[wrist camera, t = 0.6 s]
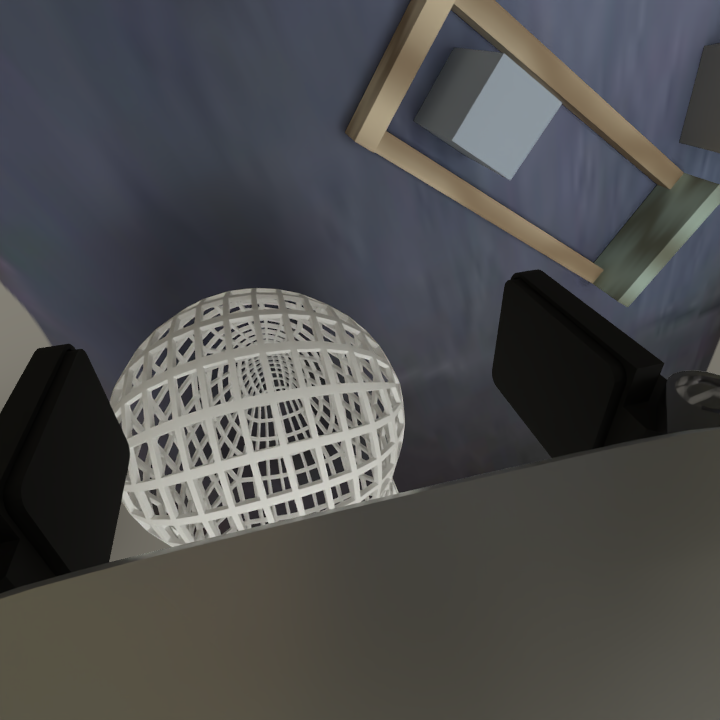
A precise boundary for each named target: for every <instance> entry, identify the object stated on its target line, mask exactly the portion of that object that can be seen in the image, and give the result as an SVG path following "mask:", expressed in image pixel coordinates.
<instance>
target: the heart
mask: <svg viewBox="0 0 720 720" xmlns="http://www.w3.org/2000/svg"><path fill="white" fill-rule="evenodd" d="M274 299H277V300H274ZM284 300H288V301H293V302H296V305H295V304H292V303H288V302H285V301H284ZM231 302H232V303H231ZM222 304H223V306H219V305H222ZM251 304H252V308H246V309H245V307H244V305H251ZM257 304H259V306H260V307H258V305H257ZM264 304H270V305H278V307H279V309H275V308H268V307H265V305H264ZM301 304H302V305H303V306H304V308H303V307H302V305H301ZM238 306H239V308H240V310H238V311H235V312H233V313H230V309H232V308H235V307H238ZM212 307H214V308H215V309H214V310H212V311H211V312H209V313H207V314H206V315H204V316H203V313H204V311H205V310H207V309H209V308H212ZM287 308H289V309H287ZM324 309H325V310H324ZM313 310H315V311H316V312H314V311H313ZM219 313H220V315H221V316H218V317H214V316H215V315H217V314H219ZM194 317H195V321H194V324H192V325H190V326H187V327H185V328H184V327H183V326H184V325H185V324H187V323H188V322H189V321H190V320H191V319H193V318H194ZM212 317H214V318H212ZM210 318H211V319H210ZM289 318H290V319H294V320H297V321H298V322H297V325H296V324H294V323H292V322H290V320H289ZM180 320H181V321H180ZM263 320H264V323H260V321H263ZM308 320H309V321H308ZM252 321H254V324H253V323H252ZM268 321H272V322H278V323H280V324H279V325H276V324H271V323H268ZM247 322H248V324H249V325H247V326H244V327H242V328H239V329H238V328H237V327H236V326H239V325H241V324H244V323H247ZM303 324H305V325H306V326H308V327H310V328H311V329H312V331H313V334H314V336H313V335H312V334H310V333H309V332H308V331H306V330H305V329H303ZM322 324H323V325H325V326H326V327H328V328H330V329H331V330H333V331H334V332H335V334H336V337H334V336H333V335H331V334H330V333H328V332H327V331H325V330H324V329H322ZM282 325H284V327H283V326H282ZM219 326H224V328H223V329H222V330H220V331H219V332H217V331H216V330H215V328H216V327H219ZM263 327H265V329H261V328H263ZM168 328H170V331H169V333H168V334H167V336H166V337H164V338H162V339H161V340H159V339H160V338H161V336H162V335H163V334H164V333H165V332H166V331H167V330H168ZM232 328H233V329H234V330H235V331H234V332H233V333H231V329H232ZM268 328H273V329H277V331H275V330H270V329H268ZM292 328H293V329H296V330H295V331H292ZM250 329H252V331H250V332H248V333H245V334H244V333H243V332H244V331H247V330H250ZM280 330H281V331H284V332H285V334H284V333H282V332H280ZM345 330H347V331H349V332H350V333H351V334H353V335H354V339H353V338H352V337H351V336H349V335H348V334H346V332H345ZM202 331H203V332H202ZM210 332H212V333H213V334H214V337H213V338H212V339H211V340H210V341H209V342H208V344H207V345H206V346H204V345H203V339H204V338H205V337H206V336H207V335H208V334H209V333H210ZM300 332H301V333H302V334H303V335H305V336H306V337H307V338H309V339H310V340H311V341H306V340H305V339H304V338H302V337H301V336H300V335H299V334H298V333H300ZM262 333H265V335H262ZM238 334H240V335H241V336H240V337H238V338H237V339H236V340H232V338H234V337H235V336H237V335H238ZM268 334H274V335H275V336H273V335H268ZM193 335H194V336H193ZM224 335H225V336H224ZM252 335H255V336H254V337H251V338H249V336H252ZM277 336H280V337H283V338H285V339H282V338H280V337H277ZM323 336H325V337H326V338H328V339H329V340H331V341H332V342H325V341H324V339H323ZM188 337H189V338H190V339H191V340H192V341H193V343H192V344H191V345H190V347H189V348H188V350H187V351H186V353H185V354H184V355H183V356H182V355H181V354H180V353H179V352H178V350H179V349H180V348H181V346H182V345H183V344H184V342H185V341H186V340H187V339H188ZM294 337H295V338H296V339H298V340H299V341H296V340H295V339H294ZM219 338H220V339H222V340H223V341H222V342H221V343H220V345H219V346H218V347H217V348H216V349H213V348H211V347H212V346H213V345H214V344H215V343H216V341H217V340H218V339H219ZM265 338H266V340H263V339H265ZM243 339H246V341H244V342H243V343H239V342H241V341H242V340H243ZM268 339H273V340H268ZM255 340H257V341H256V342H254V343H253V342H252V341H255ZM276 340H277V341H279V342H277V341H276ZM176 342H177V343H176ZM333 342H334V343H333ZM249 343H251V344H250V345H249V346H247V347H246V345H247V344H249ZM351 344H353V345H354V346H352V345H351ZM361 344H362V345H361ZM225 345H226V350H223V348H224V346H225ZM236 345H238V346H239V347H238V348H236V349H233V348H234V347H235V346H236ZM165 347H166V348H167V356H166V358H165V360H164V361H163V363H162V364H161V366H160V367H159V366H157V365H156V364H155V362H156V361H157V359H158V358H159V356H160V355H161V353H162V352H163V350H164V349H165ZM194 350H195V360H192V361H190V362H187V361H188V359H189V358H190V356H191V355H192V353H193V352H194ZM299 352H302V354H303V355H300V353H299ZM307 352H311V354H312V355H313V356H314V357H313V356H309V354H308V353H307ZM316 352H319V354H320V357H319V356H318V354H317V353H316ZM207 353H213V354H212V355H208V356H206V355H207ZM286 353H287V354H286ZM328 353H330V354H332V355H333V356H335V357H337V358H338V359H339V361H340V364H341V367H342V369H341V368H340V367H338V366H337V365H335V364H334V363H333V362H332V360H331V358H330V356H329V354H328ZM344 354H346V357H347V358H346V357H345V355H344ZM267 356H272V357H267ZM274 356H278V357H274ZM281 356H283V357H284V358H281ZM254 357H255V358H254ZM288 357H290V358H291V360H289V359H288ZM176 358H177V359H178V360H179V363H178V364H177V366H176ZM363 358H365V359H368V360H369V362H370V364H369V363H368V362H367V361H365V360H364V359H363ZM249 359H251V360H250V361H248V360H249ZM258 359H259V361H257V362H255V361H256V360H258ZM303 359H304V360H307V361H308V363H309V365H310V367H308V366H306V364H305V362H304V360H303ZM268 360H273V361H268ZM275 360H279V361H275ZM242 361H245V364H243V365H242ZM283 361H285V362H286V363H284V362H283ZM237 362H238V364H237V368H236V363H237ZM313 362H317V363H318V365H319V367H320V369H321V372H320V371H318V370H317V369H316V367H315V365H314V363H313ZM251 363H252V365H251V366H249V364H251ZM259 363H260V365H259V366H257V367H256V365H257V364H259ZM273 363H274V366H270V365H269V364H273ZM300 363H301V364H300ZM142 364H143V371H142V373H141V375H140V376H139V378H138V379H136V375H137V373H138V371H139V370H140V368H141V366H142ZM228 364H229V368H228V372H226V373H225V374H223V369H224V366H225V365H228ZM277 364H280V366H277ZM290 364H293V367H292V366H291V365H290ZM347 365H348V366H349V367H350V369H351V372H352V375H353V377H352V376H351V375H350V374H349V373H348V369H347ZM284 366H285V367H287V368H288V369H286V368H285V367H284ZM363 366H364V367H365V368H366V369H367V370H368V371H369V372H370V373H371V374H372V375H373V382H372V381H371V380H370V379H369V377H368V376H367V375H366V374H365V373H364V372H363ZM244 367H245V370H244V371H243V372H241V369H242V368H244ZM260 367H261V370H260V371H258V370H257V369H259V368H260ZM166 368H167V371H165V369H166ZM216 368H219V369H218V376H217V378H216V379H214V380H213V381H211V378H212V370H213V369H216ZM252 368H254V369H253V370H252V371H251V372H250V369H252ZM270 368H275V371H271V369H270ZM277 368H279V369H281V371H282V372H281V371H278V369H277ZM302 368H303V370H304V373H305V374H304V373H303V372H302ZM152 369H153V370H154V371H155V372H156V373H155V375H154V377H153V378H152ZM292 370H293V371H294V372H295V374H294V373H293V372H292ZM164 371H165V372H164ZM285 371H286V372H287V373H289V375H288V374H286V373H285ZM308 371H309V372H311V373H313V374H314V377H315V380H316V381H315V380H314V379H312V378H310V375H309V372H308ZM254 372H255V375H254V376H253V378H252V377H251V376H252V375H253V373H254ZM261 372H263V375H262V376H259V374H260V373H261ZM337 372H338V373H339V374H341V375H342V376H344V379H345V383H343V384H341V383H340V382H339V379H338V376H337ZM381 372H382V373H383V374H384V376H385V377H386V378H387V379H388V383H387V382H385V381H384V380H383V377H382V374H381ZM272 373H276V375H277V377H274V378H273V376H272ZM245 374H247V377H246V378H245V379H244V380H243V379H242V377H243V376H244V375H245ZM279 374H282V376H283V378H282V377H279ZM186 375H189V376H188V377H187V378H186V380H185V381H184V383H183V384H182V385H181V387H180V388H179V389H178V384H177V379H178V378H180V377H183V376H186ZM197 376H198V381H199V388H200V390H199V391H198V382H197ZM319 376H320V377H322V378H323V379H325V383H326V385H321V382H320V378H319ZM226 377H228V385H227V386H226V387H225V388H224V389H223V383H222V380H223V379H225V378H226ZM256 377H257V380H256V382H255V384H254V382H253V381H254V380H255V379H256ZM263 377H264V378H265V381H264V382H261V379H262V378H263ZM286 377H287V378H289V380H287V379H286ZM293 377H294V378H295V379H296V380H297V382H296V381H295V380H294V379H293ZM304 378H305V379H306V380H307V384H306V383H305V380H304ZM276 379H278V383H279V386H277V387H275V385H274V380H276ZM248 380H249V384H248V385H247V387H246V388H245V386H244V385H245V383H246V382H247V381H248ZM280 380H283V381H284V386H281V382H280ZM363 380H364V381H365V382H366V383H364V382H363ZM258 382H259V384H260V385H259V387H258V388H256V386H257V384H258ZM272 382H273V383H272ZM286 382H287V383H288V384H289V386H287V383H286ZM292 382H293V383H294V384H295V385H296V386H297V388H296V387H295V386H294V385H293V384H292ZM132 383H133V385H134V386H133V387H132ZM190 383H191V384H192V393H193V397H192V398H191V400H190V401H189V403H188V404H187V405H186V407H184V405H183V402H182V399H181V396H182V394H183V393H184V392H185V390H186V389H187V387H188V386H189V385H190ZM217 383H218V394H217V396H216V397H215V398H214V399H213V397H212V391H211V388H212V387H213V386H214V385H216V384H217ZM265 383H266V388H267V390H265V391H264V389H263V384H265ZM311 383H312V384H313V385H315V386H312V385H311ZM162 385H163V387H162V389H161V391H160V392H159V394H158V396H157V397H156V399H155V400H154V399H153V398H152V390H154V389H156V388H158V387H160V386H162ZM251 386H252V389H251V392H250V395H249V394H248V391H249V389H250V387H251ZM273 386H274V387H273ZM131 388H132V389H131ZM260 388H261V390H262V393H259V390H260ZM282 388H285V389H286V390H282ZM292 388H293V389H292ZM168 389H169V395H170V403H169V405H168V407H167V409H166V410H165V412H164V413H163V412H162V410H161V409H160V407H159V404H160V402H161V401H162V399H163V397H164V396H165V394H166V392H167V391H168ZM229 389H230V392H231V398H230V399H229V401H228V402H226V401H225V397H224V394H225V393H226V392H227V391H228V390H229ZM276 389H280V391H276ZM288 389H289V390H288ZM241 390H242V392H243V395H241ZM254 391H255V396H253V393H254ZM274 391H275V392H274ZM367 391H372V396H371V395H370V394H369V393H368V392H367ZM266 392H267V393H266ZM353 392H358V395H359V398H358V397H357V396H356V395H355V394H354V393H353ZM342 393H346V394H347V395H348V398H349V404H350V405H349V404H348V403H347V402H345V401H344V399H343V394H342ZM324 395H329V402H330V404H329V403H328V402H327V401H326V400H325V399H323V396H324ZM200 397H201V401H202V407H203V409H202V408H201V404H200V400H199V398H200ZM245 397H246V398H245ZM312 397H316V398H317V399H318V400H319V406H318V405H317V404H316V403H315V402H314V401H313V400H312ZM139 398H140V400H139V402H138V404H137V405H136V407H135V409H134V411H133V412H132V411H131V409H130V405H131V404H132V403H133V402H135V401H136V400H138V399H139ZM377 398H379V400H380V402H381V403H382V405H383V406H384V413H382V411H381V409H380V408H379V406H378V404H377ZM298 399H300V400H301V402H302V405H303V407H301V405H300V403H299V401H298ZM219 400H220V401H221V404H219V405H215V404H216V403H217V402H218V401H219ZM292 400H295V402H296V404H297V406H298V408H299V410H298V411H296V409H295V407H294V404H293V402H292ZM286 401H290V404H291V407H292V409H293V413H291V414H289V410H288V407H287V404H286ZM354 401H355V402H356V403H357V404H358V405H359V406H360V412H361V415H360V414H359V413H358V412H357V411H356V410H355V405H354ZM280 402H284V405H285V408H286V412H287V415H284V416H282V414H281V409H280V405H279V403H280ZM369 402H370V403H371V407H370V403H369ZM277 403H278V406H277ZM310 403H311V404H312V405H313V406H314V408H315V409H316V410H317V411H318V412H317V415H316V416H315V414H314V413H313V411H312V408H311V404H310ZM323 404H324V405H325V406H326V407H327V408H328V409H329V410H330V418H329V417H328V416H327V415H326V414H325V413H324V412H323ZM110 405H111V407H112V409H113V411H114V414H115V416H116V418H117V420H118V422H119V424H120V422H121V420H122V431H123V433H124V435H125V437H126V439H127V442H128V444H129V448H130V461H129V466H128V470H129V477H128V476H126V480H125V485H124V490H123V495H122V500H121V502H122V503H123V505H124V506H125V507H126V509H127V510H128V512H129V513H130V514H131V515H132V517H133V518H134V519H135V520H136V521H137V522H139V524H140V525H141V526H142V527H143V528H144V529H146V530H147V531H148V532H149V533H150V534H152V535H153V536H155V537H157V538H158V539H160V540H162V541H163V542H165V543H166V544H168V545H169V546H171V547H174V546H178V545H182V544H186V543H191V542H195V541H199V540H203V539H207V538H212V537H216V536H220V535H221V533H220V530H219V528H218V525H219V524H220V523H221V522H222V521H223V520H224V519H225V518H226V517H227V518H228V521H229V524H230V527H231V528H230V529H228V530H227V531H226V532H225V533H223V534H222V535H224V534H228V533H233V532H237V530H236V529H238V531H241V530H245V529H246V526H247V529H249V528H251V524H256V523H261V526H262V525H265V522H268V523H269V524H270V523H275V522H278V521H279V520H285V519H291V518H295V517H299V516H304V515H307V514H310V513H313V512H320V510H322V509H324V508H326V507H327V509H326V510H329V509H334V508H338V507H342V506H347V505H351V504H355V503H359V502H361V501H362V500H363V499H365V501H368V500H372V499H376V498H381V497H385V496H389V495H394V494H398V493H399V492H398V490H397V488H396V485H395V483H394V481H393V478H392V476H393V473H394V470H395V466H396V463H397V460H398V456H399V453H400V450H401V446H402V442H403V434H404V426H405V417H404V406H403V398H402V392H401V387H400V383H399V380H398V378H397V376H396V374H395V372H394V370H393V368H392V366H391V364H390V362H389V360H388V359H387V357H386V355H385V354H384V352H383V350H382V349H381V347H380V346H379V345H378V343H377V342H376V341H375V340H374V339H373V338H372V337H371V336H370V335H369V333H368V332H367V331H366V330H365V329H363V328H362V327H361V326H360V325H359V324H357V323H356V322H355V321H354V320H353V319H352V318H350V317H349V316H347V315H346V314H344V313H342V312H340V311H338V310H337V309H335V308H333V307H331V306H329V305H327V304H325V303H323V302H320V301H318V300H315V299H313V298H310V297H308V296H305V295H303V294H299V293H295V292H290V291H285V290H280V289H266V288H250V289H242V290H233V291H228V292H224V293H221V294H218V295H215V296H211V297H208V298H205V299H203V300H201V301H199V302H197V303H195V304H193V305H191V306H189V307H187V308H185V309H183V310H182V311H180V312H179V313H178V314H177V315H175V316H174V317H172V318H171V319H170V320H168V321H167V322H165V323H164V324H162V325H161V326H160V327H158V328H157V329H156V330H155V331H154V332H153V333H152V334H151V335H150V336H149V337H148V338H147V339H146V340H145V341H144V342H143V343H142V344H141V345H140V347H139V348H138V349H137V350H136V352H135V353H134V355H133V356H132V358H131V360H130V361H129V363H128V365H127V366H126V368H125V369H124V371H123V373H122V375H121V376H120V378H119V380H118V381H117V383H116V385H115V387H114V390H113V392H112V396H111V399H110ZM194 405H195V407H196V412H192V413H189V412H190V410H191V409H192V407H193V406H194ZM214 405H215V406H214ZM268 405H270V406H271V410H272V417H273V418H270V419H268V417H267V406H268ZM262 406H264V410H265V419H261V407H262ZM255 407H258V419H256V418H254V414H255ZM392 407H393V408H392ZM142 408H143V411H144V422H143V424H142V425H141V424H140V423H139V421H138V420H137V417H138V415H139V413H140V411H141V409H142ZM250 408H252V412H251V416H250V415H249V414H247V413H248V409H250ZM278 408H279V410H278ZM345 408H346V409H347V410H348V411H350V412H351V416H352V422H351V421H350V420H349V419H348V418H346V411H345ZM171 412H172V420H170V421H168V417H169V415H170V414H171ZM233 412H234V413H233ZM279 412H280V414H279ZM188 413H189V414H188ZM230 413H233V415H232V416H231V414H230ZM300 413H301V414H302V416H303V417H304V419H305V421H306V423H307V425H308V426H306V427H304V428H303V426H302V423H301V421H300V419H299V417H298V414H300ZM376 413H377V415H378V416H379V418H378V419H376ZM154 414H156V416H157V417H158V419H159V420H160V421H159V424H158V425H157V426H155V423H154ZM237 414H238V416H239V421H240V425H239V426H238V425H237V424H236V423H235V419H236V417H237ZM224 415H226V417H227V419H228V421H229V423H228V425H227V427H226V428H225V430H223V428H222V426H221V424H220V421H221V419H222V418H223V416H224ZM335 415H336V417H337V421H338V425H339V426H337V425H336V424H335ZM292 416H295V417H296V419H297V421H298V424H299V426H300V429H299V430H297V431H295V428H294V426H293V423H292V420H291V417H292ZM321 416H322V417H323V418H324V419H325V420H326V421H327V422H328V423H329V427H328V430H326V429H325V427H324V426H323V425H322V424H321V422H320V421H319V420H320V417H321ZM395 417H396V418H395ZM286 418H289V421H290V424H291V427H292V431H293V432H291V433H288V434H286V430H285V426H284V422H283V419H286ZM247 419H248V420H250V423H249V427H248V422H247ZM357 419H358V420H359V421H360V422H361V423H362V425H360V426H358V424H357ZM281 421H282V422H281ZM253 422H257V423H258V424H257V437H254V436H251V432H252V426H253ZM268 422H273V424H274V432H275V436H273V437H269V434H268ZM200 423H201V426H202V428H203V431H204V434H205V436H204V437H203V439H202V441H201V442H200V443H199V441H198V439H197V437H196V435H195V431H196V430H197V428H198V427H199V425H200ZM261 423H265V428H266V437H261V438H260V427H261ZM192 424H193V425H192ZM316 424H317V425H318V426H319V428H320V429H321V430H322V432H323V433H324V434H325V435H320V436H318V432H317V428H316ZM348 426H350V427H351V428H349V429H348ZM184 427H186V429H187V431H188V434H187V436H185V431H184ZM216 427H217V429H218V431H219V433H220V435H221V438H220V440H218V436H217V432H216ZM231 427H233V428H234V429H235V430H236V432H237V433H236V436H235V439H234V441H233V444H232V443H231V441H230V440H229V439H228V437H227V435H228V433H229V431H230V429H231ZM132 428H134V429H135V431H136V432H137V433H138V434H137V435H135V436H133V437H132ZM333 428H334V429H335V430H336V431H337V432H333V433H332V430H333ZM308 429H309V433H310V437H311V438H308V436H307V434H306V432H305V431H306V430H308ZM283 430H284V431H283ZM377 432H378V433H379V435H380V439H379V437H378V435H377ZM167 433H169V438H168V440H167V443H166V445H165V448H164V450H163V449H162V447H161V446H160V445H159V444H158V442H157V441H158V439H159V437H160V436H162V435H164V434H167ZM299 433H303V435H304V438H305V439H303V440H298V437H297V434H299ZM385 433H386V437H387V440H388V444H387V442H386V438H385ZM240 435H241V436H243V438H244V442H245V446H244V450H243V453H242V452H241V451H239V450H238V449H237V448H236V447H237V444H238V441H239V438H240ZM277 435H278V436H277ZM360 435H361V436H362V437H363V438H364V439H365V441H366V446H367V448H366V447H365V446H364V445H362V444H361V443H360V438H359V436H360ZM290 436H294V437H295V440H296V441H294V442H289V443H288V438H287V437H290ZM354 437H355V439H354ZM278 439H279V444H280V445H278ZM191 440H192V442H193V444H194V446H195V448H196V451H195V453H194V455H193V457H192V459H191V457H190V453H189V449H188V445H189V443H190V441H191ZM271 440H276V446H273V447H269V441H271ZM173 441H174V443H175V444H176V446H177V448H178V449H179V453H178V455H177V458H176V461H175V463H174V461H173V460H172V459H171V458H170V456H169V455H168V454H169V452H170V449H171V447H172V444H173ZM252 441H256V447H255V451H254V448H253V444H252ZM260 441H266V448H264V449H260V450H259V443H260ZM145 442H146V443H147V444H148V448H149V449H148V453H147V457H146V461H145V463H144V462H143V461H142V460H141V459H140V458H138V454H139V451H140V448H141V444H142V443H145ZM207 442H209V444H210V446H211V448H212V454H211V455H210V457H209V459H208V460H207V459H206V457H205V454H204V452H203V448H204V447H205V445H206V443H207ZM224 442H225V443H226V444H227V446H228V447H229V448H230V451H229V453H228V455H227V457H226V459H223V457H222V453H221V447H222V445H223V443H224ZM337 442H341V447H340V446H339V445H338V444H337ZM329 444H332V445H333V446H334V447H335V449H336V450H337V451H338V453H337V454H335V455H333V456H331V457H330V455H329V454H328V452H327V450H326V448H325V447H324V446H325V445H329ZM352 444H354V445H355V446H356V456H355V455H354V452H353V447H352ZM133 447H134V448H133ZM307 450H310V451H311V454H312V456H313V458H314V461H315V463H316V464H313V465H311V466H307V463H306V460H305V457H304V454H303V452H305V451H307ZM361 450H362V451H364V452H365V453H367V454H368V455H369V460H367V461H366V460H364V459H362V457H361ZM322 452H323V453H324V455H325V457H326V459H325V460H324V457H323V453H322ZM234 453H235V454H236V455H237V456H233V454H234ZM299 453H300V455H301V458H302V461H303V464H304V467H305V468H302V469H299V470H295V467H294V463H293V459H292V456H293V455H296V454H299ZM340 456H341V460H342V464H343V467H344V471H343V472H340V473H338V474H336V471H335V468H334V465H333V462H332V460H334V459H336V458H338V457H340ZM199 457H200V459H201V461H202V463H203V465H201V466H198V467H195V464H196V462H197V460H198V458H199ZM280 458H283V459H284V463H285V467H286V470H287V473H282V466H281V460H280ZM273 459H278V466H279V473H280V474H276V475H270V462H269V460H273ZM265 460H266V472H267V476H261V474H260V470H259V467H258V462H261V461H265ZM213 461H215V462H213ZM356 461H357V466H356ZM181 462H182V465H183V470H184V471H180V469H179V467H180V464H181ZM151 463H152V466H153V469H152V468H151ZM326 463H328V464H329V467H330V470H331V473H332V476H329V477H328V474H327V470H326V465H325V464H326ZM166 464H167V465H168V466H169V467H170V468H171V469H172V474H170V475H166V476H165V474H164V472H165V467H166ZM249 464H250V466H251V469H252V473H253V477H247V478H241V477H242V473H243V469H244V466H245V465H249ZM238 467H239V469H238V472H237V475H236V474H235V472H234V471H233V470H232V469H234V468H238ZM316 467H317V469H318V472H319V475H320V478H321V479H320V480H317V481H314V482H312V479H311V476H310V473H309V470H311V469H314V468H316ZM138 468H139V469H141V470H142V471H143V481H141V480H140V475H139V471H138ZM370 469H372V474H373V477H371V476H368V475H365V474H364V472H366V471H368V470H370ZM303 472H306V474H307V478H308V481H309V483H307V484H304V485H301V486H299V484H298V480H297V476H296V474H300V473H303ZM215 473H217V474H216V476H215V475H214V474H215ZM227 473H228V474H229V475H230V476H231V477H232V478H233V480H234V481H233V482H232V483H231V484H230V482H229V479H228V476H227ZM208 475H209V477H210V479H211V481H212V482H211V483H210V485H209V486H208V488H207V490H206V491H205V490H204V487H203V484H202V480H203V479H204V477H205V476H208ZM150 477H151V478H153V479H150ZM283 477H288V478H289V481H290V485H291V489H287V490H285V484H284V479H283ZM277 478H280V480H281V485H282V491H280V492H276V493H273V492H272V485H271V479H277ZM359 478H360V480H361V485H362V489H363V490H360V487H359ZM219 479H220V482H221V485H222V488H223V490H222V488H221V486H220V484H219V483H218V481H219ZM262 480H267V483H268V490H269V495H266V491H265V488H264V484H263V481H262ZM366 480H368V481H371V482H373V483H372V484H370V485H369V486H368V487H367V486H366ZM252 481H253V485H254V491H255V498H251V499H246V500H245V497H244V493H243V488H242V484H241V482H252ZM346 481H347V482H348V486H349V490H350V493H347V494H345V495H343V496H342V493H341V489H340V485H339V484H341V483H343V482H346ZM178 483H181V484H182V486H181V491H180V496H179V494H178V493H177V491H176V490H175V486H176V484H178ZM236 486H237V490H238V494H239V498H240V502H239V503H236V501H235V498H234V495H233V492H232V490H233V489H234V488H235V487H236ZM333 486H336V490H337V493H338V498H336V499H334V500H333V497H332V492H331V487H333ZM214 487H215V489H216V491H217V493H218V494H219V497H218V498H217V499H216V501H215V502H214V503H213V504H212V506H211V505H210V503H209V500H208V496H209V494H210V493H211V491H212V490H213V488H214ZM153 489H157V497H156V496H155V495H153V494H151V493H150V492H149V490H153ZM322 490H323V491H324V495H325V500H326V503H324V504H322V505H319V506H318V502H317V498H316V494H315V493H316V492H319V491H322ZM127 492H129V494H130V497H129V495H128V493H127ZM185 494H186V495H187V497H188V505H187V509H186V506H185V504H184V499H185ZM309 494H312V496H313V500H314V504H315V507H313V508H310V509H307V510H304V505H303V501H302V497H303V496H306V495H309ZM369 495H370V496H372V498H371V499H369ZM349 497H351V498H349ZM347 498H349V499H347ZM293 499H295V503H296V506H297V509H298V512H296V513H291V514H290V509H289V505H288V501H290V500H293ZM344 499H347V500H345V501H343V500H344ZM175 501H176V502H177V504H178V511H177V508H176V505H175ZM221 501H222V504H223V506H222V507H217V506H218V505H219V504H220V502H221ZM138 502H139V503H138ZM283 502H285V506H286V510H287V515H280V516H277V514H276V509H275V505H276V504H280V503H283ZM338 502H340V503H339V504H337V505H335V506H334V504H335V503H338ZM151 503H153V504H155V505H157V506H158V510H159V514H160V515H154V511H153V507H152V504H151ZM139 504H140V507H141V508H140V507H139ZM270 506H271V507H272V510H271V507H270ZM216 507H217V508H216ZM262 508H263V509H264V512H265V515H266V517H265V518H264V516H263V511H262ZM191 510H192V513H191ZM254 510H258V512H259V517H260V518H258V519H252V520H250V518H249V514H248V512H250V511H254ZM272 511H273V512H272ZM323 511H325V510H323ZM166 512H167V513H168V514H169V515H166ZM242 513H243V514H244V517H245V521H244V522H243V519H242V517H241V515H240V514H242ZM216 519H217V520H216ZM234 522H235V523H234ZM235 524H236V525H235ZM195 525H196V529H197V531H196V534H195V537H194V535H193V532H194V528H195ZM204 527H205V529H206V531H207V534H206V535H205V536H204V533H203V528H204ZM165 530H166V531H165Z"/></svg>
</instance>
